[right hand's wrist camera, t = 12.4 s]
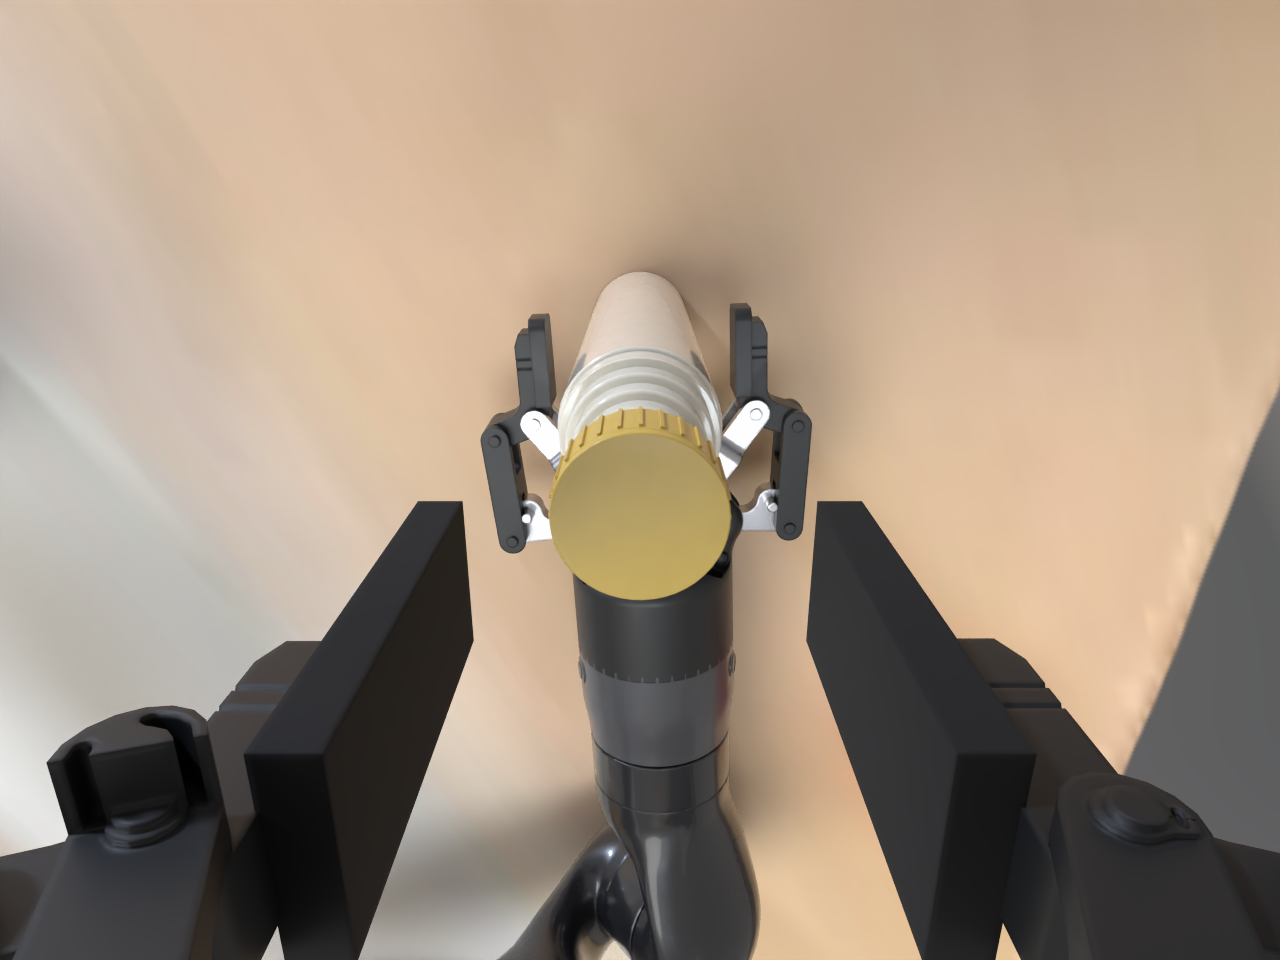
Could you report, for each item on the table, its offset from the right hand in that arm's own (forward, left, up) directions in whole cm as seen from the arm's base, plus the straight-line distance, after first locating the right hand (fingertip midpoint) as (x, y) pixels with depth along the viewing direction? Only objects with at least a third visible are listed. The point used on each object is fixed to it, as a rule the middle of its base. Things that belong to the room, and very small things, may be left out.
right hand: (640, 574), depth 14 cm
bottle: (0, 0, -28) cm, 28 cm away
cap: (0, 0, -3) cm, 3 cm away
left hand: (0, -1, -22) cm, 22 cm away
